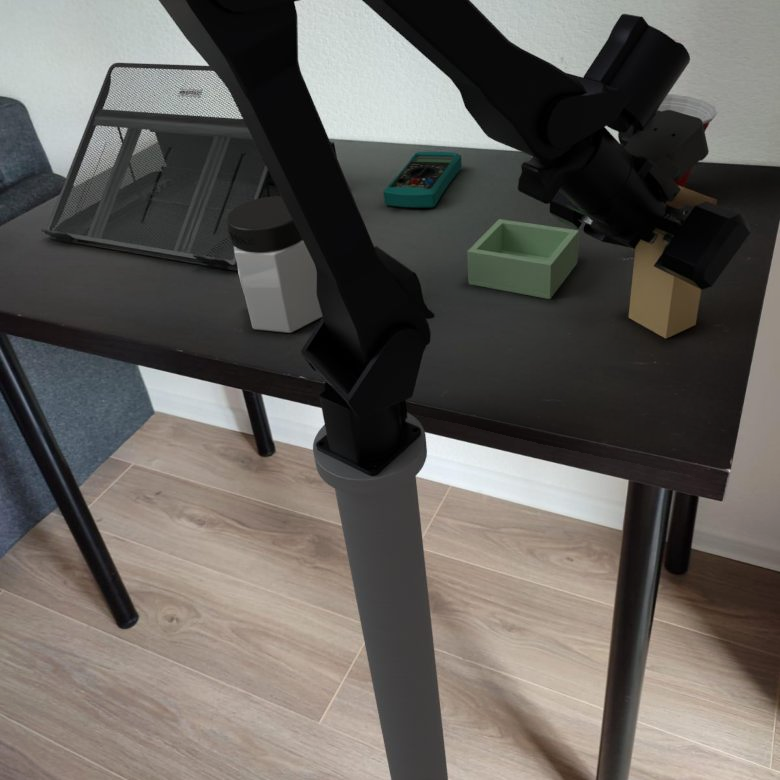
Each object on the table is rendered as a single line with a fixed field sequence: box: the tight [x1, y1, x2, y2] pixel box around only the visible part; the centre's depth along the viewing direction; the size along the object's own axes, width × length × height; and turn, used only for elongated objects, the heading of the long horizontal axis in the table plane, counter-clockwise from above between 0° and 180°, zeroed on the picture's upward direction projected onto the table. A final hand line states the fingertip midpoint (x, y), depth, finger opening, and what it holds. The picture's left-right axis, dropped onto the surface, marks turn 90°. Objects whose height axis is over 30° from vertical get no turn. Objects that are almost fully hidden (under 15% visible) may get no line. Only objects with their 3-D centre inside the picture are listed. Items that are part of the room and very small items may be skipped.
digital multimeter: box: [382, 151, 463, 209], centre depth 109 cm, size 7×15×3 cm, turn 160°
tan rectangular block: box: [628, 185, 718, 340], centre depth 73 cm, size 4×5×13 cm
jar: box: [226, 195, 323, 334], centre depth 82 cm, size 9×8×12 cm
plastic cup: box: [657, 93, 718, 188], centre depth 96 cm, size 11×11×12 cm
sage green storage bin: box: [466, 218, 580, 300], centre depth 86 cm, size 9×10×4 cm
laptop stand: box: [40, 62, 338, 272], centre depth 105 cm, size 33×28×18 cm
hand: (680, 257), depth 74 cm, fingers closed on tan rectangular block, 5 cm apart
